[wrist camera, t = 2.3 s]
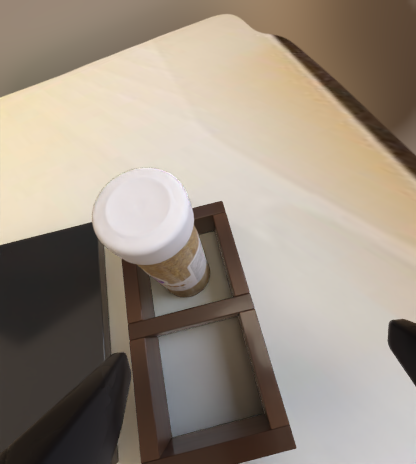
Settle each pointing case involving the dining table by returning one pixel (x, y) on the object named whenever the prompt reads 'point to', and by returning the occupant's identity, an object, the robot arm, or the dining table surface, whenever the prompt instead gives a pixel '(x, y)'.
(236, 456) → the spice rack
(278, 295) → the dining table surface
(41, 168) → the dining table surface
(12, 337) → the slate board
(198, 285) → the sprinkles bottle
